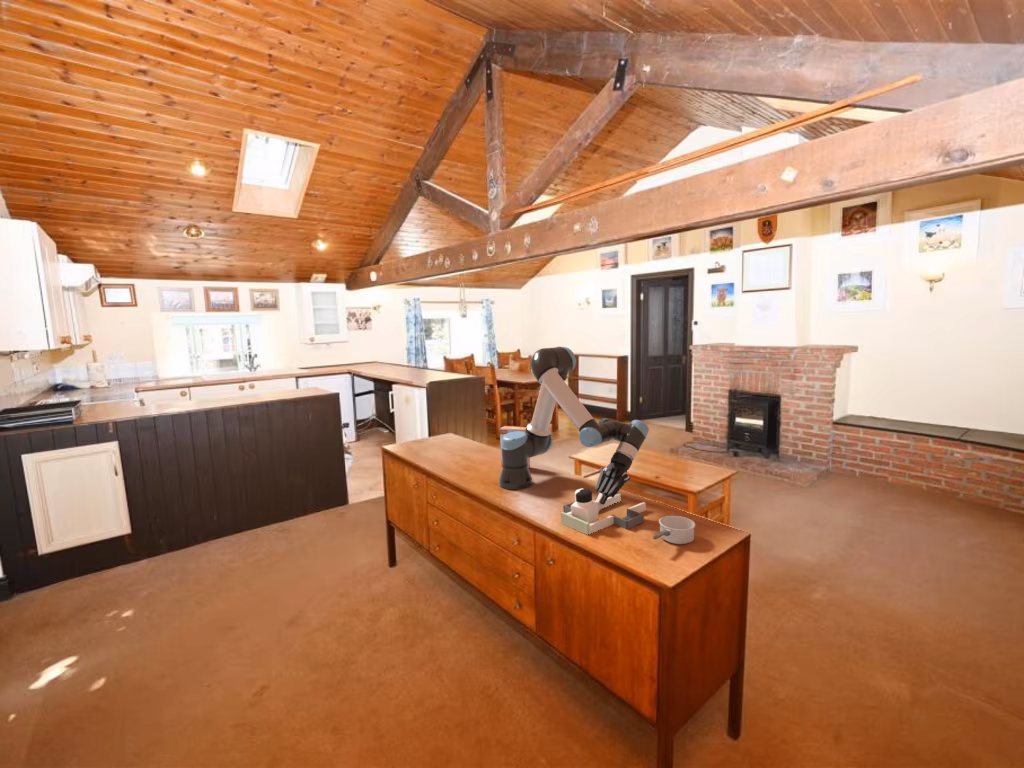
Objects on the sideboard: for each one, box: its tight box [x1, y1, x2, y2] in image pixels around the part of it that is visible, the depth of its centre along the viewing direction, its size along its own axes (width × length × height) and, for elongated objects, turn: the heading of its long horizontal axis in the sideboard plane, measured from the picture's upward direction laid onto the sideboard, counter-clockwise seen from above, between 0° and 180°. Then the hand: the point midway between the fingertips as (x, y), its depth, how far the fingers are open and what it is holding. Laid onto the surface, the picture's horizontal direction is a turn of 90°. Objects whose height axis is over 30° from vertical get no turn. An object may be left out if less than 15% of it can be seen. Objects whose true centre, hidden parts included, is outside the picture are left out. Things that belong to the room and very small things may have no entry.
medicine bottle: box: [571, 487, 600, 524], centre depth 165 cm, size 7×7×12 cm
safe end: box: [560, 511, 590, 536], centre depth 161 cm, size 1×13×4 cm, turn 37°
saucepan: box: [652, 515, 697, 545], centre depth 149 cm, size 12×20×6 cm, turn 133°
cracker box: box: [499, 425, 531, 469], centre depth 234 cm, size 14×6×21 cm, turn 63°
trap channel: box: [562, 493, 647, 535], centre depth 171 cm, size 31×25×3 cm
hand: (594, 510), depth 167 cm, fingers closed
